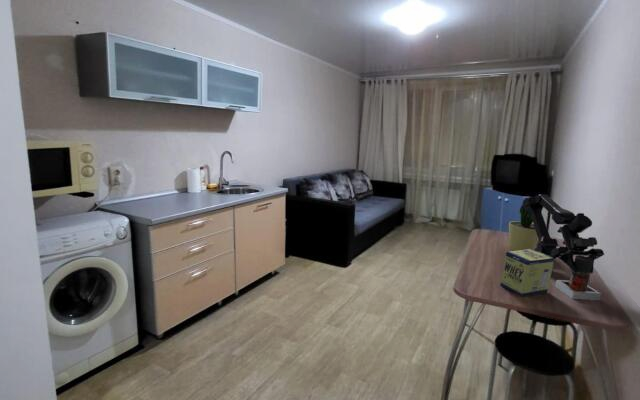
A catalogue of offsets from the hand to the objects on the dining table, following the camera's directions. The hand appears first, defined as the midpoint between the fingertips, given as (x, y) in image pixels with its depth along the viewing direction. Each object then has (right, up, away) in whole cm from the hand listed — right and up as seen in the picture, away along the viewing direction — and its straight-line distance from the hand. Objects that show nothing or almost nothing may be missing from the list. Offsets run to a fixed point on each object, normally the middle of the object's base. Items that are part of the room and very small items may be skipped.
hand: (583, 272), depth 141 cm
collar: (0, -9, +3) cm, 10 cm away
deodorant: (0, -9, +4) cm, 10 cm away
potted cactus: (+4, +1, +52) cm, 52 cm away
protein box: (-22, -8, +5) cm, 24 cm away
